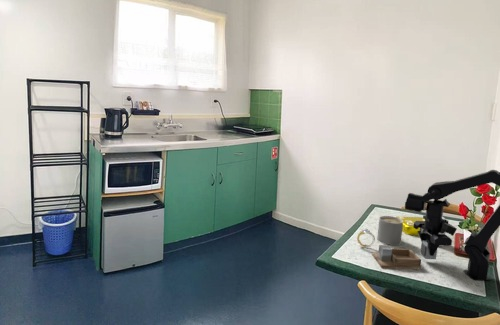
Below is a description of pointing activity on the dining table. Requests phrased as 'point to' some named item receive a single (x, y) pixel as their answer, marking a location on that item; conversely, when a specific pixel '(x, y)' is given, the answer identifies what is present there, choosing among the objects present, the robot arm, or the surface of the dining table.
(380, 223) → the coffee mug
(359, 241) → the ring
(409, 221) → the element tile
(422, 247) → the block
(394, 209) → the dining table surface
